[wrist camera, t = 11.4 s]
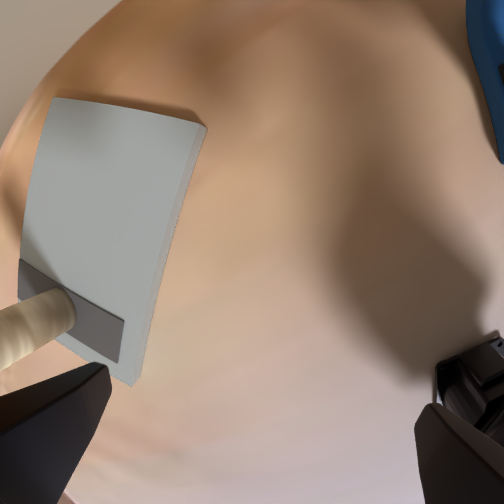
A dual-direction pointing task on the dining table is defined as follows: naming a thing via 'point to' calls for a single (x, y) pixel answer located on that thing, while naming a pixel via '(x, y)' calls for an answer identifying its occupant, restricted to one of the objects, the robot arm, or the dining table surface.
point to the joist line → (88, 314)
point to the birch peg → (34, 324)
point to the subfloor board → (108, 212)
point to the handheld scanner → (489, 57)
